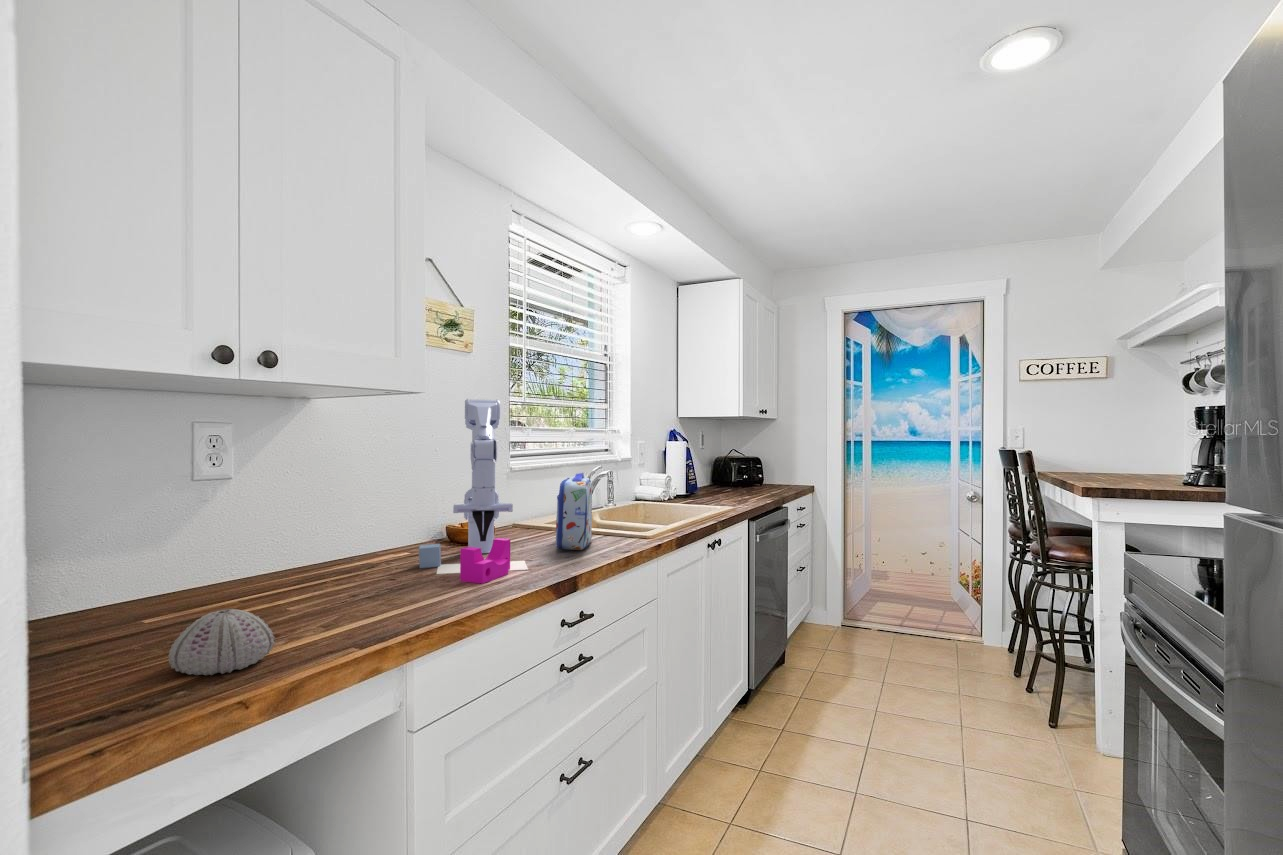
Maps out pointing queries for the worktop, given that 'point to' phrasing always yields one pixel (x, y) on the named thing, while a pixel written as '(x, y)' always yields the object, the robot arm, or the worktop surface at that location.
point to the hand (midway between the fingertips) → (483, 540)
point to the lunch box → (574, 513)
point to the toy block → (485, 562)
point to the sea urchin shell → (221, 643)
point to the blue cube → (429, 555)
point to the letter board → (456, 567)
